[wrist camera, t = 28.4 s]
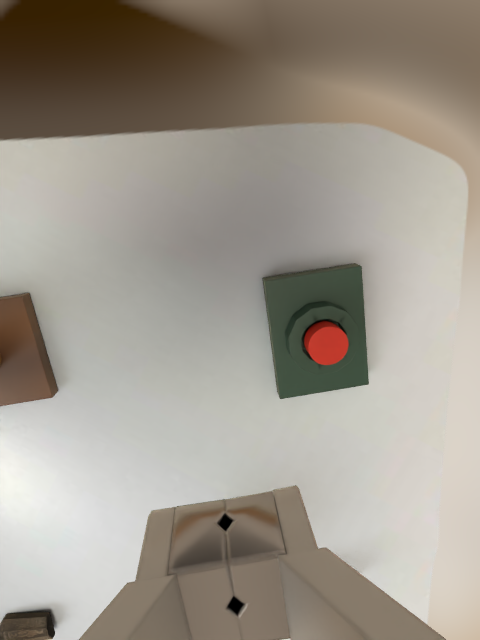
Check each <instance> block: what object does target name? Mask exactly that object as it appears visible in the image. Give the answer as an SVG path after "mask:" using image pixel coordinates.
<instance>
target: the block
mask: <svg viewBox="0 0 480 640" xmlns="http://www.w3.org/2000/svg"><path fill="white" fill-rule="evenodd" d="M54 635H55V631H54V626H53V623H52V619H51V616H50V613H49V612H35V613H16V614H15V613H14V614H12V613H11V614H10V613H9V614H6V616H5V617H4V618H3V620H2V622H1V623H0V640H48V639H53V637H54Z"/></svg>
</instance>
